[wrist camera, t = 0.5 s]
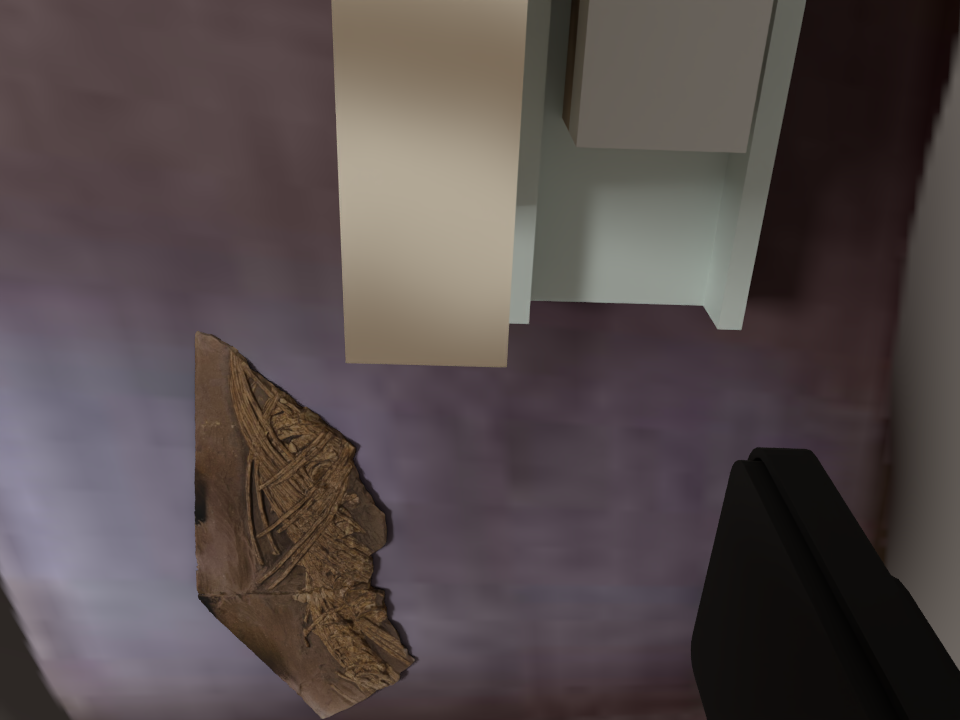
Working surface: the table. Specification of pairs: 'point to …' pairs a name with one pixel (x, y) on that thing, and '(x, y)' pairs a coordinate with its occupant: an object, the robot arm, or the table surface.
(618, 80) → the grey offcut
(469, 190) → the birch sheet
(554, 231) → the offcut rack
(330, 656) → the brown ridged slab
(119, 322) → the table surface
